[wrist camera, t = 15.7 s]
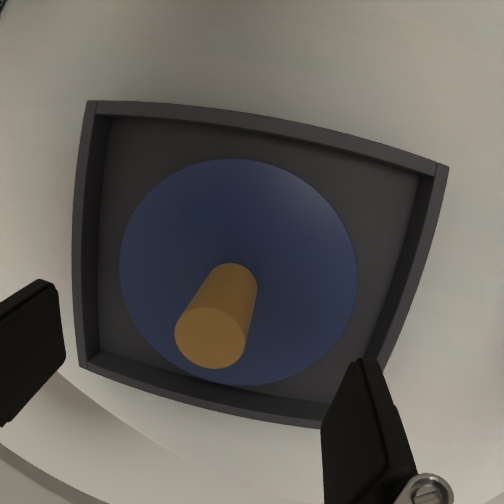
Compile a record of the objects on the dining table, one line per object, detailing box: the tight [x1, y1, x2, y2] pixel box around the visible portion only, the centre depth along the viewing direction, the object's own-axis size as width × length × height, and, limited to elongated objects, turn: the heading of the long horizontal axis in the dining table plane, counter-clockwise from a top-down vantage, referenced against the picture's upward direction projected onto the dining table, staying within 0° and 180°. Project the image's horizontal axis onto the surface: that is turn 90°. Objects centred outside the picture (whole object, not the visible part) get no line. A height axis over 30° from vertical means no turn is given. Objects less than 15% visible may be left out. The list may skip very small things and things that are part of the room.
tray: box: [72, 100, 449, 429], centre depth 17 cm, size 20×18×2 cm
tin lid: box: [119, 158, 358, 386], centre depth 15 cm, size 14×14×7 cm
